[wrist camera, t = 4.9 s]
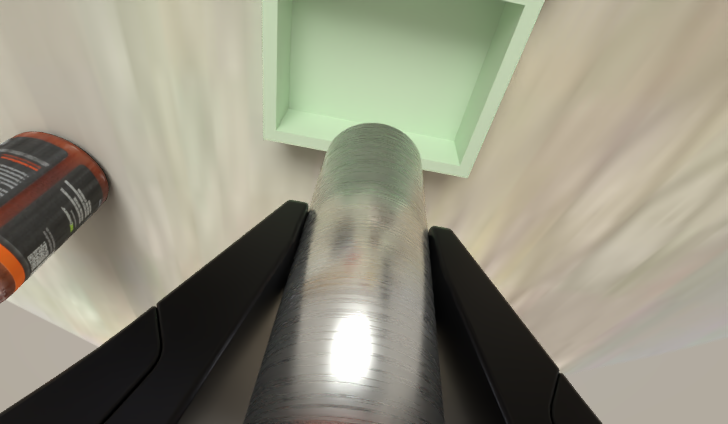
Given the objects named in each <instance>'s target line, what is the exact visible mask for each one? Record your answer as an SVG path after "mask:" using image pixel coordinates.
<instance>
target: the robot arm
mask: <svg viewBox="0 0 728 424" xmlns="http://www.w3.org/2000/svg"><path fill="white" fill-rule="evenodd" d="M307 215H308V204H307V203H305V202H300V201H294V200H289V201H287V202H285V203H284V204H283V205H282V206H280V207H279V208H278V209H276V210H275V211H274V212H273V213H271V214H270V215H269V216H268V217H266V218H265V219H264V220H262V221H261V222H260V223H259V224H257V225H256V226H255V227H253V228H252V229H251V230H250V231H248V232H247V233H246V234H245V235H243V236H242V237H241V238H239V239H238V240H237V241H236V242H234V243H233V244H232V245H231V246H229V247H228V248H227V249H225V250H224V251H223V252H222V253H220V254H219V255H218V256H216V257H215V258H214V259H213V260H211V261H210V262H209V263H208V264H206V265H205V266H204V267H202V268H201V269H200V270H199V271H197V272H196V273H195V274H194V275H192V276H191V277H190V278H188V279H187V280H186V281H185V282H183V283H182V284H181V285H179V286H178V287H177V288H176V289H174V290H173V291H172V292H171V293H169V294H168V295H167V296H165V297H164V298H163V299H162V300H160V301H159V302H158V303H157V307H155V306H153V307H151V308H150V309H149V310H147V311H146V312H145V313H143V314H142V315H141V316H140V317H138V318H137V319H136V320H135V321H133V322H132V323H131V324H129V325H128V326H127V327H125V328H124V329H123V330H121V331H120V332H119V333H117V334H116V335H115V336H113V337H112V338H111V339H109V340H108V341H106V342H105V343H104V344H102V345H101V346H100V347H98V348H97V349H96V350H94V351H93V352H91V353H90V354H88V355H87V356H85V357H84V358H83V359H81V360H79V361H78V362H77V363H75V364H74V365H72V366H71V367H69V368H68V369H66V370H65V371H63V372H62V373H61V374H59V375H58V376H56V377H55V378H53V379H52V380H50V381H49V382H47V383H45V384H44V385H42V386H41V387H40V388H38V389H36V390H35V391H34V392H32V393H30V394H29V395H27V396H26V397H24V398H23V399H21V400H20V401H18V402H17V403H15V404H14V405H12V406H11V407H9V408H7V409H6V410H4V411H3V412H1V413H0V424H243V422H244V419H245V416H246V412H247V409H248V406H249V403H250V399H251V396H252V393H253V390H254V386H255V383H256V380H257V377H258V373H259V370H260V367H261V364H262V360H263V357H264V354H265V350H266V347H267V344H268V341H269V337H270V334H271V331H272V328H273V324H274V321H275V318H276V315H277V311H278V308H279V305H280V302H281V298H282V295H283V292H284V289H285V285H286V282H287V279H288V276H289V272H290V269H291V266H292V263H293V260H294V257H295V254H296V250H297V247H298V244H299V241H300V237H301V234H302V231H303V228H304V224H305V221H306V218H307ZM428 240H429V252H430V263H431V274H432V286H433V297H434V308H435V320H436V331H437V342H438V354H439V365H440V376H441V388H442V399H443V410H444V422H445V424H602V422H601V421H600V420H599V419H598V417H597V416H596V415H595V414H594V413H593V411H592V410H591V409H590V408H589V406H588V405H587V404H586V403H585V401H584V400H583V399H582V398H581V396H580V395H579V394H578V393H577V392H576V390H575V389H574V387H573V386H572V385H571V384H570V382H569V381H568V380H567V378H566V377H565V376H564V375H563V374H562V373H559V368H558V367H557V366H556V364H555V363H554V362H553V360H552V359H551V358H550V357H549V355H548V354H547V353H546V351H545V350H544V349H543V348H542V346H541V345H540V344H539V342H538V341H537V340H536V339H535V337H534V336H533V335H532V333H531V332H530V331H529V329H528V328H527V327H526V326H525V324H524V323H523V322H522V320H521V319H520V318H519V317H518V315H517V314H516V313H515V311H514V310H513V309H512V307H511V306H510V305H509V304H508V302H507V301H506V300H505V298H504V297H503V296H502V295H501V293H500V292H499V291H498V289H497V288H496V287H495V285H494V284H493V283H492V282H491V280H490V279H489V278H488V276H487V275H486V274H485V273H484V271H483V270H482V269H481V267H480V266H479V265H478V264H477V262H476V261H475V260H474V258H473V257H472V256H471V254H470V253H469V252H468V251H467V249H466V248H465V247H464V245H463V244H462V243H461V242H460V240H459V239H458V238H457V236H456V235H455V234H454V232H453V231H452V230H450V229H448V228H443V227H438V226H433V227H431V228H430V229H429V232H428Z"/></svg>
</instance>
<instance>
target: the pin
mask: <svg viewBox="0 0 728 424" xmlns="http://www.w3.org/2000/svg"><path fill="white" fill-rule="evenodd" d="M243 424H445V422H444V410H443V399H442V388H441V376H440V365H439V354H438V342H437V331H436V320H435V308H434V297H433V286H432V274H431V263H430V252H429V240H428V229H427V218H426V206H425V195H424V184H423V172H422V161H421V156H420V153H419V151H418V148H417V147H416V145H415V144H414V142H413V141H412V140H411V139H410V138H409V137H408V136H407V135H406V134H405V133H403V132H402V131H400V130H398V129H397V128H394V127H392V126H389V125H385V124H381V123H363V124H358V125H355V126H352V127H349V128H347V129H346V130H344V131H342V132H341V133H340V134H338V135H337V136H336V137H335V138H334V140H333V141H332V142H331V144H330V145H329V147H328V150H327V152H326V155H325V159H324V162H323V165H322V168H321V172H320V175H319V178H318V181H317V185H316V188H315V191H314V194H313V198H312V201H311V204H310V207H309V211H308V215H307V218H306V221H305V224H304V228H303V231H302V234H301V237H300V241H299V244H298V247H297V250H296V254H295V257H294V260H293V263H292V266H291V269H290V272H289V276H288V279H287V282H286V285H285V289H284V292H283V295H282V298H281V302H280V305H279V308H278V311H277V315H276V318H275V321H274V324H273V328H272V331H271V334H270V337H269V341H268V344H267V347H266V350H265V354H264V357H263V360H262V364H261V367H260V370H259V373H258V377H257V380H256V383H255V386H254V390H253V393H252V396H251V399H250V403H249V406H248V409H247V412H246V416H245V419H244V422H243Z"/></svg>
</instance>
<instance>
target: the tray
mask: <svg viewBox="0 0 728 424" xmlns="http://www.w3.org/2000/svg"><path fill="white" fill-rule="evenodd" d="M544 1H545V0H262V65H263V139H264V140H269V141H274V142H280V143H285V144H290V145H295V146H301V147H306V148H311V149H316V150H322V151H327V150H328V147H329V145H330V144H331V142H332V141H333V140H334V138H335V137H336V136H337V135H338V134H340V133H341V132H342V131H344V130H346V129H347V128H349V127H352V126H355V125H358V124H363V123H381V124H385V125H389V126H392V127H394V128H397V129H398V130H400V131H402V132H403V133H405V134H406V135H407V136H408V137H409V138H410V139H411V140H412V141H413V142H414V144H415V145H416V147H417V148H418V151H419V153H420V156H421V161H422V170H427V171H432V172H437V173H442V174H448V175H453V176H458V177H463V178H468V176H469V174H470V172H471V169H472V167H473V165H474V162H475V160H476V158H477V155H478V153H479V151H480V149H481V146H482V144H483V142H484V139H485V137H486V135H487V132H488V130H489V128H490V126H491V123H492V121H493V119H494V116H495V114H496V112H497V109H498V107H499V105H500V102H501V100H502V98H503V96H504V93H505V91H506V89H507V86H508V84H509V82H510V79H511V77H512V75H513V73H514V70H515V68H516V66H517V63H518V61H519V59H520V56H521V54H522V52H523V50H524V47H525V45H526V43H527V40H528V38H529V36H530V33H531V31H532V29H533V27H534V24H535V22H536V20H537V17H538V15H539V13H540V10H541V8H542V6H543V4H544Z"/></svg>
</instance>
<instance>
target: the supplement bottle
mask: <svg viewBox="0 0 728 424" xmlns="http://www.w3.org/2000/svg"><path fill="white" fill-rule="evenodd" d="M108 191H109V187H108V182H107V179H106V176H105V174H104V172H103V171H102V170H101V168H100V167H99V165H98V164H97V163H96V162H95V161H94V160H93V159H92V158H91V157H90V156H89V155H88V154H87V153H86V152H84V151H83V150H82V149H80V148H79V147H77V146H76V145H74V144H73V143H71V142H69V141H67V140H65V139H63V138H60V137H57V136H54V135H51V134H48V133H43V132H25V133H21V134H19V135H16V136H14V137H13V138H11V139H8V140H6V141H5V142H3V143H1V144H0V303H1V302H3V301H4V300H6V299H7V298H8V297H9V296H11V295H12V294H13V293H14V292H15V291H16V290H17V289H18V288H19V287H20V286H21V285H22V284H23V283H24V282H25V281H26V280H27V279H28V278H29V277H30V276H31V275H32V274H33V273H34V272H35V271H36V270H37V269H38V268H39V267H40V266H41V265H42V264H43V263H44V262H45V261H46V260H47V259H48V258H49V257H50V256H51V255H52V254H53V253H54V252H55V251H56V250H57V249H58V248H59V247H60V246H61V245H62V244H63V243H64V242H65V241H66V240H67V239H68V238H69V237H70V236H71V235H72V234H73V233H74V232H75V231H76V230H77V229H78V228H79V227H80V226H81V225H82V224H83V223H84V222H85V221H86V220H87V219H88V218H89V217H90V216H91V215H92V214H93V213H94V212H95V211H96V210H97V209H98V208H99V207H100V206H101V204H103V202H104V201H105V200H106V199H107V195H108Z"/></svg>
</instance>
